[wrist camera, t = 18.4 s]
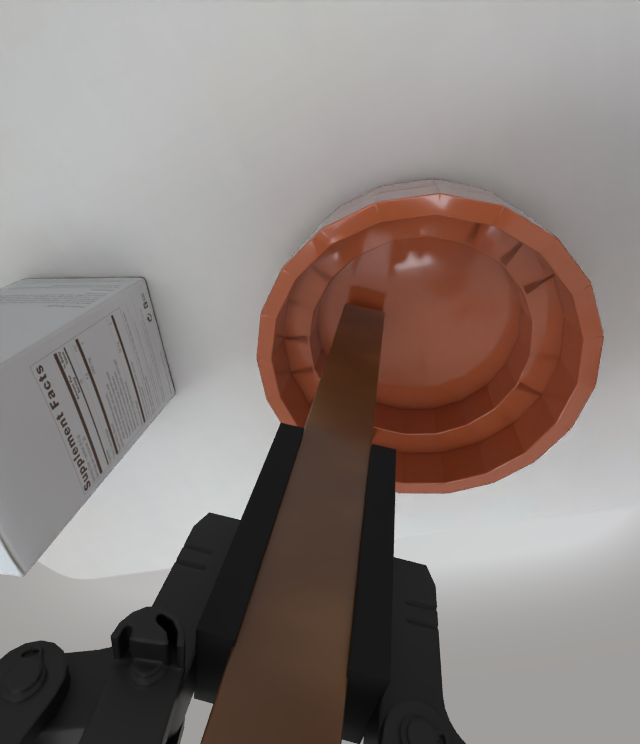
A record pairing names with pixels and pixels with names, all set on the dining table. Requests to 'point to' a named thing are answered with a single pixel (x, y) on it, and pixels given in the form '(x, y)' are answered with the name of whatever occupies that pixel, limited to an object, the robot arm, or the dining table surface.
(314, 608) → the stirring stick
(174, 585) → the robot arm
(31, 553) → the rectangular carton
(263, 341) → the bowl
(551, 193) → the dining table surface
